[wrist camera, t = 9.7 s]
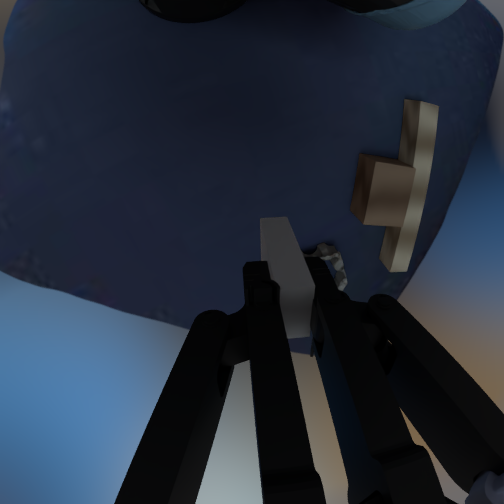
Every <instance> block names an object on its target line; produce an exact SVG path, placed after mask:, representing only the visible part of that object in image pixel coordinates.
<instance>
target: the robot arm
mask: <svg viewBox="0 0 504 504" xmlns="http://www.w3.org/2000/svg"><path fill="white" fill-rule="evenodd" d="M246 1H247V0H139V2H140V3H141V4H142V5H143V6H144V7H145V8H146V9H147V10H149V11H150V12H151V13H153V14H154V15H156V16H158V17H160V18H163V19H166V20H169V21H174V22H181V23H196V22H204V21H209V20H213V19H216V18H219V17H222V16H224V15H227V14H229V13H231V12H232V11H234V10H236V9H237V8H239V7H240V6H241V5H243V4H244V3H245V2H246ZM327 1H329V2H332V3H334V4H336V5H339V6H341V7H343V8H344V9H345V10H346V11H348V12H350V13H352V14H355V15H360V16H364V17H366V18H369V19H371V20H373V21H375V22H377V23H379V24H381V25H383V26H385V27H388V28H391V29H395V30H399V29H402V30H416V29H421V28H425V27H428V26H431V25H433V24H435V23H437V22H439V21H441V20H443V19H445V18H446V17H448V16H449V15H451V14H452V13H454V12H455V11H456V10H457V9H459V8H460V7H461V6H462V5H463V4H464V3H465V2H466V1H467V0H327ZM260 230H261V261H253V262H246V264H245V265H244V267H243V282H244V296H245V304H244V306H243V307H242V309H241V310H239V311H238V312H236V313H233V314H230V315H227V314H225V313H224V312H222V311H219V310H208V311H204V312H202V313H200V314H199V315H198V316H197V317H196V318H195V320H194V322H193V324H192V326H191V328H190V331H189V333H188V335H187V337H186V339H185V342H184V344H183V346H182V348H181V350H180V352H179V355H178V357H177V359H176V361H175V364H174V366H173V368H172V370H171V372H170V375H169V377H168V380H167V381H166V384H165V386H164V388H163V390H162V393H161V395H160V397H159V399H158V402H157V404H156V406H155V409H154V411H153V413H152V415H151V418H150V420H149V422H148V424H147V427H146V429H145V431H144V434H143V436H142V439H141V441H140V443H139V446H138V448H137V450H136V453H135V455H134V457H133V459H132V462H131V464H130V467H129V469H128V472H127V474H126V477H125V479H124V481H123V483H122V486H121V488H120V491H119V493H118V496H117V498H116V501H115V503H114V504H195V502H196V499H197V496H198V492H199V489H200V485H201V482H202V479H203V475H204V472H205V469H206V465H207V461H208V458H209V455H210V451H211V448H212V444H213V441H214V438H215V434H216V431H217V427H218V424H219V420H220V417H221V413H222V410H223V406H224V402H225V399H226V395H227V392H228V388H229V385H230V381H231V378H232V374H233V370H234V365H236V364H238V363H241V362H244V361H247V360H250V371H251V381H252V393H253V404H254V414H255V426H256V437H257V447H258V457H259V468H260V478H261V487H262V498H263V504H326V500H325V495H324V490H323V485H322V482H321V478H320V476H319V474H318V473H317V472H316V470H315V467H314V463H313V458H312V453H311V448H310V443H309V438H308V433H307V429H306V423H305V418H304V414H303V409H302V404H301V399H300V395H299V390H298V385H297V380H296V376H295V371H294V366H293V362H292V357H291V353H290V348H289V343H288V339H289V338H299V337H308V336H310V329H311V330H312V334H313V338H312V346H311V353H310V356H311V357H313V353H315V357H316V360H317V364H318V368H319V371H320V375H321V378H322V382H323V386H324V389H325V393H326V397H327V400H328V404H329V408H330V412H331V416H332V419H333V423H334V427H335V431H336V435H337V439H338V443H339V446H340V450H341V455H342V459H343V463H344V467H345V471H346V475H347V479H348V503H349V504H457V503H456V502H454V501H452V500H450V499H449V498H447V497H445V496H444V494H443V491H442V488H441V485H440V482H439V479H438V477H437V474H436V471H435V469H434V466H433V463H432V460H431V458H430V455H429V453H428V451H427V450H426V449H425V448H424V447H423V446H420V445H416V444H415V443H414V442H413V440H412V437H411V435H410V432H409V430H408V427H407V425H406V422H405V420H404V417H403V415H402V412H401V410H402V411H403V412H404V414H405V415H406V416H407V418H408V419H409V420H410V422H411V423H412V425H413V426H414V427H415V429H416V430H417V431H418V433H419V434H420V435H421V437H422V438H423V440H424V441H425V442H426V444H427V445H428V447H429V448H430V449H431V451H432V452H433V454H434V455H435V456H436V458H437V459H438V460H439V462H440V463H441V465H442V466H443V468H444V469H445V470H446V472H447V473H448V474H449V476H450V477H451V478H452V479H453V481H454V482H455V483H456V484H457V485H458V486H459V487H461V488H462V489H463V490H464V491H465V492H467V493H468V494H469V496H468V497H467V498H466V500H465V504H504V414H503V413H502V411H501V410H500V409H499V408H498V407H497V406H496V404H495V403H494V402H493V401H492V400H491V399H490V397H488V395H487V394H486V393H485V392H484V391H483V389H481V387H480V386H479V385H478V384H477V383H476V382H475V381H474V379H473V378H472V377H471V376H470V375H469V374H468V373H467V372H466V371H465V370H464V369H463V368H462V366H461V365H460V364H459V363H458V362H457V361H456V360H455V359H454V358H453V357H452V356H451V355H450V354H449V353H448V352H447V350H446V349H445V348H444V347H443V346H442V345H441V344H440V343H439V342H438V341H437V340H436V339H435V338H434V337H433V336H432V335H431V334H430V333H429V332H428V331H427V330H426V329H425V328H424V327H423V326H422V325H421V324H420V323H419V322H418V321H417V320H416V319H415V318H414V317H413V316H412V315H411V314H410V313H409V312H408V311H407V310H406V309H405V308H404V307H403V306H402V305H401V304H400V303H399V302H398V301H397V300H396V299H394V298H393V297H391V296H389V295H386V294H376V295H373V296H371V297H370V299H369V301H368V303H365V302H357V301H352V300H350V298H349V296H348V295H347V294H346V293H345V292H343V291H341V290H339V289H338V287H337V285H336V283H335V281H334V279H333V277H332V275H331V274H330V271H329V269H328V267H327V265H326V263H325V261H324V260H322V259H321V258H320V257H318V256H315V257H303V254H302V252H301V250H300V247H299V245H298V242H297V240H296V237H295V235H294V233H293V230H292V228H291V226H290V223H289V221H288V219H287V217H274V218H260ZM388 340H389V341H390V342H391V343H392V344H391V343H390V342H389V341H388ZM400 408H401V410H400Z"/></svg>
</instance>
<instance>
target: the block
mask: <svg viewBox="0 0 504 504" xmlns="http://www.w3.org/2000/svg"><path fill="white" fill-rule="evenodd" d="M415 172H416V168H414V167H412V166H410V165H408V164H406V163H404V162H402V161H400V160H398V159H392V158H386V157H380V156H374V155H368V154H362V153H360V154H359V160H358V167H357V173H356V179H355V185H354V191H353V196H352V202H351V207H350V211H351V212H352V213H353V214H354V215H355V216H356V217H357V218H358V219H359V220H360V221H361V222H362V223H363V224H364V225H379V226H394V227H403V224H404V220H405V216H406V212H407V208H408V204H409V200H410V195H411V191H412V186H413V182H414V177H415Z"/></svg>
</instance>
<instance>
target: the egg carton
mask: <svg viewBox="0 0 504 504" xmlns="http://www.w3.org/2000/svg"><path fill="white" fill-rule="evenodd" d="M301 252H302V251H301ZM302 254H303V257H315V256H318V257H320V258H321V259H322V260H330V261H331V263H332V265H333V266H334V268H335V269H336V270H337V273H336V277H335V278H334V281H335V283H336V285H337V287H338V289H339V290H341V291H342V290H343V289H344V288H345V286H346V285H347V279H346V274H345V270H344V265H343V261H342V258H341V255H340V251H339V252H337V250H336V249H335V247H334V246H328V245H326V244H325V243H321V244H319V245H317V250H316V251H315V252H314V253H313V254H310V255H307V254H304V253H303V252H302Z"/></svg>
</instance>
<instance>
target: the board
mask: <svg viewBox="0 0 504 504" xmlns="http://www.w3.org/2000/svg"><path fill="white" fill-rule="evenodd" d="M438 108H439V106H436V105H433V104H429V103H426V102H422V101H416V100H407V99H404V111H403V122H402V132H401V140H400V148H399V156H398V160H400V161H402V162H404V163H406V164H408V165H410V166H412V167H414V168H416V172H415V177H414V182H413V186H412V191H411V195H410V200H409V204H408V208H407V212H406V216H405V220H404V224H403V227H394V226H386V230H385V235H384V239H383V244H382V248H381V252H380V257H379V259H380V260H381V261H382V263H383V264H384V265H385V266H386V268H387V269H388V270H389V271H390V272H403V271H407V268H408V265H409V262H410V258H411V255H412V251H413V247H414V244H415V240H416V236H417V232H418V228H419V224H420V220H421V215H422V211H423V207H424V202H425V197H426V192H427V187H428V182H429V176H430V171H431V165H432V158H433V152H434V144H435V137H436V128H437V119H438Z"/></svg>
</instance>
